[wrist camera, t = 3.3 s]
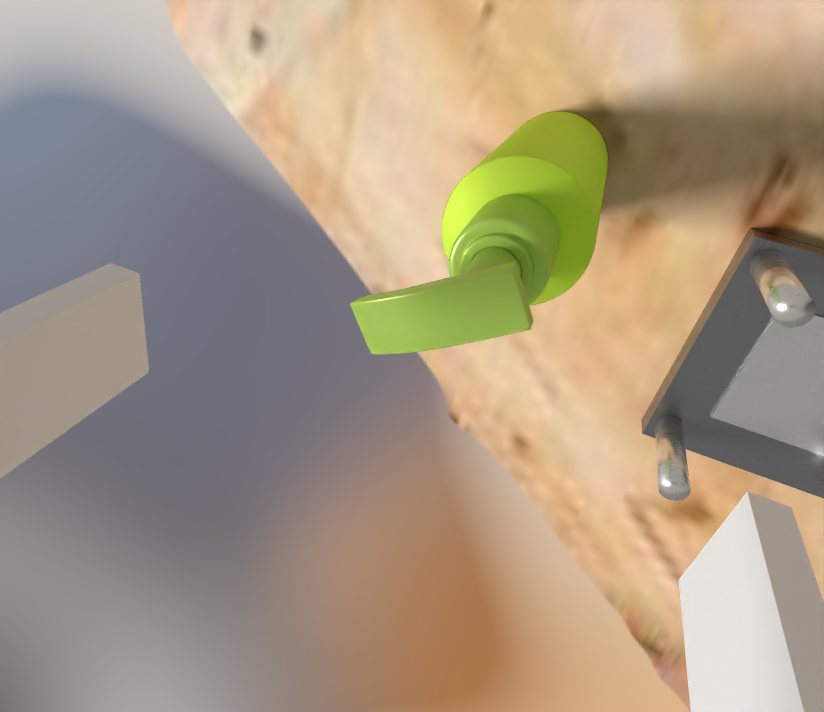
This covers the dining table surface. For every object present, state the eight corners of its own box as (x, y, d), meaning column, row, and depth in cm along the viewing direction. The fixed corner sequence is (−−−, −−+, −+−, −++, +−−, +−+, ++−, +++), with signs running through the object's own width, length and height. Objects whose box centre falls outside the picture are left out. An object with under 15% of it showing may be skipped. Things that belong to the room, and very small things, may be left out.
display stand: (750, 227, 30) (780, 278, 24) (1016, 303, 28) (1126, 381, 22) (641, 420, 38) (643, 495, 32) (843, 491, 35) (887, 587, 29)
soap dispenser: (474, 138, 32) (315, 248, 16) (595, 94, 29) (552, 176, 13) (502, 232, 35) (387, 414, 18) (617, 201, 31) (604, 386, 15)
